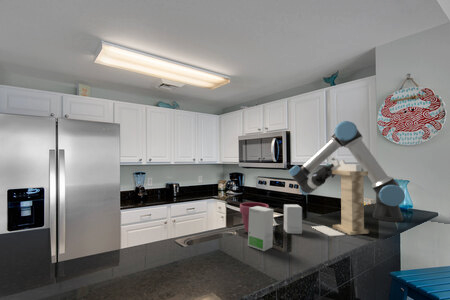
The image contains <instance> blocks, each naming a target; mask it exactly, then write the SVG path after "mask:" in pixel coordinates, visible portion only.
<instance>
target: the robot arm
mask: <svg viewBox="0 0 450 300" xmlns="http://www.w3.org/2000/svg"><path fill="white" fill-rule="evenodd" d="M363 138H364V137H363V135H362V133H361V132H360V131H359V129H358V128H357V125H356V124H355V123H354V122H352V121H348V120H343V121H341V122H338V124H337V125H336V127H335V129H334V133H333V134H332V135H331V137H330V139H329V140H328V141H327V142H326V143H325V144H324V145H323V146H322V147H321V148H320V149H319V150H317V151H316V152H315V153H314V154H313V155H312V156H311V157H310V158H309V159H308V160H306V161H305V162H304V163H303V164H302V165H301V166H299V165H298V164H295V165H294V166H292V167H291V168H290V169H289V170H288V173H289V175H290V176H291V177H292V178H293V180H294V181H295V182H296V183H297V184H298V187H299V188H298V190H299V192H300V194H303V195H304V196H307V195H310V194H312V193H313V192H314V191H315V190H317V189H318V188H320V187H321V186H322V185H324V184H325V183H326V181H327V180H328V179H329V178H334V177H335V176H336V175H337V174H332V170H333V169H334V168H335V167H337V166H338V165H339V164H346V162H345V159H342V160H340V161H339V160H338V159H336V160H334V161H332V162H331V163H329V164H330V165H329V166H327V165H326V166H322V167H321V168H320V169H319V170H317V171H316V172H314V171H315V169H317V168H318V167H319V166H321V164H323V162H325V161H326V160H327V159H328V158H329V157H330V156H331V155H333V154H334V153H335V152H336V151H337V150H338V149H339V148H346V149H348V150H349V151H350V153H351V154H352V157H354V159H355V160H356V162H357V163H358V165H361V170H362V171H368V175H366V176H367V177H368V179H369V180H370V182H371V183H372V184H371V188H372V189H373V191H374V193H375V207H374V210H373V213H372V218H373V219H376V220H378V221H379V220H380V221H385V222H393V223H394V222H395V223H397V222H398V223H400V222H403V221H404V216H403V214H402V211H401V208H400V205H402V204H403V203H404V201H405V199H406V193H405V191H404V189H403V188H402V187H400V184H399V181H396V180H395V179H394V177H392V176H388V174H387V172H386V171H385V170H384V169H383V168H382V166H381V164H380V163H379V162H378V160H377V159H376V158H375V156H374V155H373V154H372V152H371V151H370V149H369V148H368V146H366V144H365V143H364V141H363ZM330 169H331V170H330ZM313 172H314V173H313ZM311 173H312V175H311V176H310V177H308V176H309V175H310V174H311Z"/></svg>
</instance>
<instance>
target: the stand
mask: <svg viewBox="0 0 450 300" xmlns="http://www.w3.org/2000/svg"><path fill="white" fill-rule="evenodd" d="M332 174H336V175H339V176H340V187H341V188H340V206H341V208H340V211H341V213H340V215H341V217H340V220H341V223H340V224H339V223H338V224H332V229H333V230H336V229H337V230H336V231H338V232H341V231H342V232H341V233H343V234H346V233H347V235H349V236H354V235H355V236H356V235H363V234H370V230H369V229H367V228H365V218H364V217H365V213H364V211H365V206H364V205H365V204H364V197H365V196H364V195H365V194H364V189H365V188H364V177H365V176H367V175H368V171H364V170H361V171H343V170H332Z"/></svg>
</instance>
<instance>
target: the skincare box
mask: <svg viewBox="0 0 450 300" xmlns="http://www.w3.org/2000/svg"><path fill="white" fill-rule="evenodd" d="M274 211H275V209H273V208H266V207H260V206H255V207H251V208H249V228H248V232H247V234H248V235H247V246H248V247H250V248H254V249H255V250H260V251H262V252H265V251H268V250H270V249H272V248H273V241H274V240H273V236H274V213H275V212H274Z"/></svg>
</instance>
